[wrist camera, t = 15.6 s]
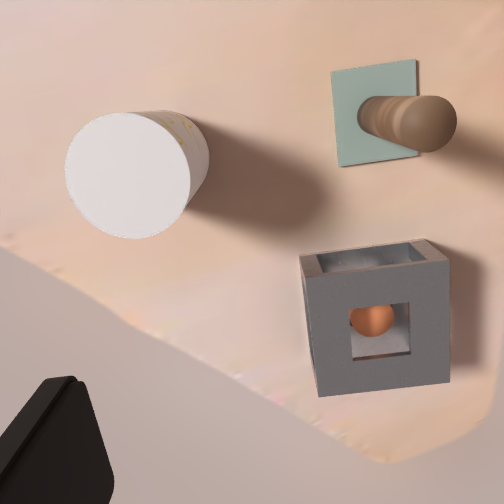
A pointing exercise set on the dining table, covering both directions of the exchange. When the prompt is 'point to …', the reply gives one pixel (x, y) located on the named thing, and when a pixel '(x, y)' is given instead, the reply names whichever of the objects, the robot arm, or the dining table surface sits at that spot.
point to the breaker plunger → (372, 320)
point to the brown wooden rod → (409, 120)
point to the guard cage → (376, 294)
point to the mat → (353, 95)
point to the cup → (136, 171)
